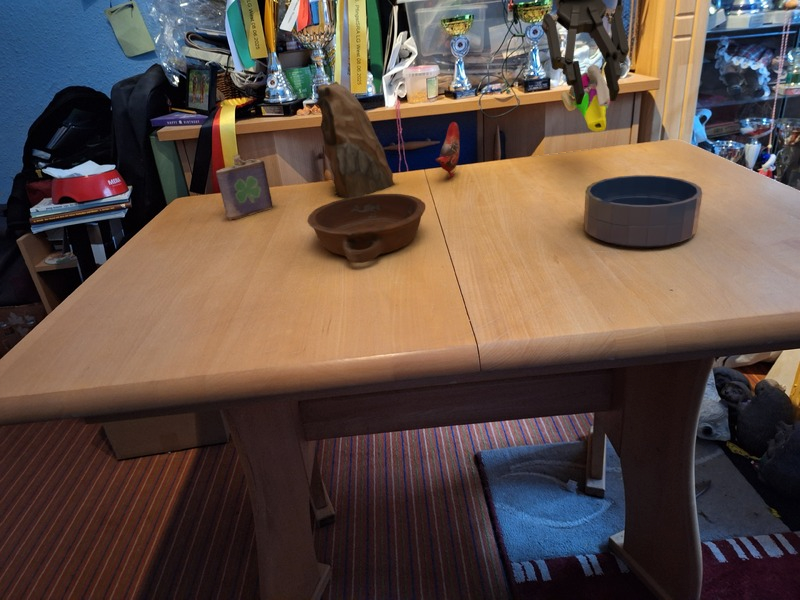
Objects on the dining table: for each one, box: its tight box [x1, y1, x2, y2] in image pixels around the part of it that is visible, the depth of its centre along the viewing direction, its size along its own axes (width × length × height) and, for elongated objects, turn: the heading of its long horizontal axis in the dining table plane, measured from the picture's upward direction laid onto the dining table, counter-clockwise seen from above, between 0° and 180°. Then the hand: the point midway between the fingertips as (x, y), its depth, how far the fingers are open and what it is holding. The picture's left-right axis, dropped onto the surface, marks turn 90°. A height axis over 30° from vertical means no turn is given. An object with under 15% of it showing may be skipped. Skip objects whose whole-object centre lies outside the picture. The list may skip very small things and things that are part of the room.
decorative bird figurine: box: [435, 121, 460, 180], centre depth 109 cm, size 3×18×10 cm, turn 162°
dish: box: [307, 193, 427, 264], centre depth 84 cm, size 18×22×5 cm
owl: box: [315, 81, 395, 199], centre depth 108 cm, size 13×13×20 cm
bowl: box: [583, 174, 703, 249], centre depth 76 cm, size 14×14×6 cm
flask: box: [215, 154, 274, 221], centre depth 102 cm, size 9×3×11 cm, turn 129°
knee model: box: [560, 64, 613, 133], centre depth 95 cm, size 9×8×25 cm
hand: (597, 97), depth 91 cm, fingers closed on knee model, 5 cm apart
